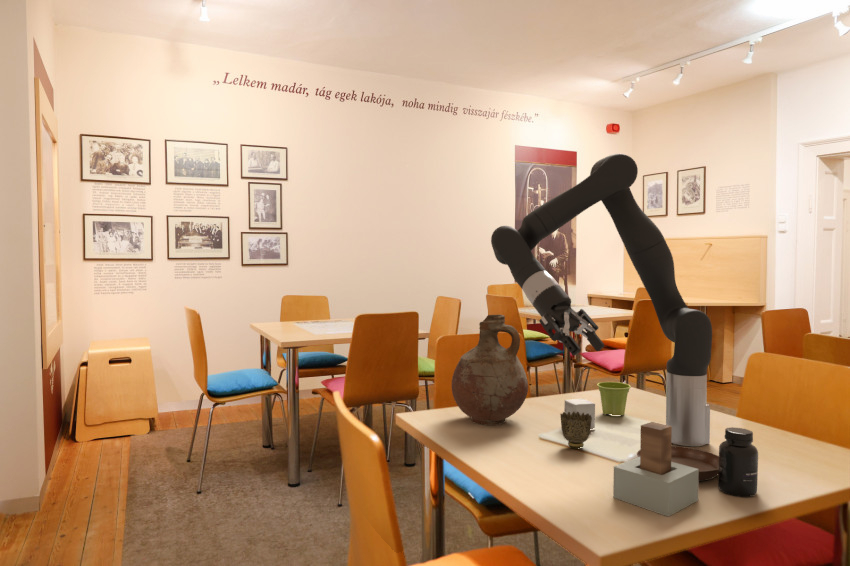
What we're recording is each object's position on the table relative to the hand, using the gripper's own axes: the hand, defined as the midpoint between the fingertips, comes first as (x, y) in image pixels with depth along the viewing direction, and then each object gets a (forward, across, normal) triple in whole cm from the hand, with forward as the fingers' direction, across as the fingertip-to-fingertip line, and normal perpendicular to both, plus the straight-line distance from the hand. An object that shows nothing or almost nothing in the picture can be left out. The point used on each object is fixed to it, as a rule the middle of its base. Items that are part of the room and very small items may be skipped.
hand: (589, 350), depth 127 cm
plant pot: (+2, +46, +36) cm, 58 cm away
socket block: (+30, -3, +7) cm, 31 cm away
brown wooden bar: (+29, -3, +5) cm, 29 cm away
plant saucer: (+27, +16, +11) cm, 33 cm away
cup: (+10, +11, +27) cm, 31 cm away
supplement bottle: (+36, +13, +1) cm, 39 cm away
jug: (-11, +13, +48) cm, 51 cm away
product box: (+3, +26, +34) cm, 43 cm away
